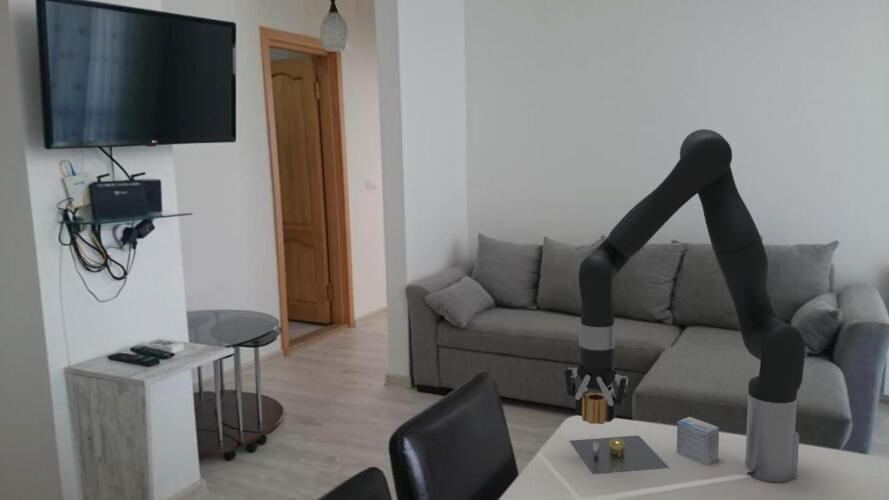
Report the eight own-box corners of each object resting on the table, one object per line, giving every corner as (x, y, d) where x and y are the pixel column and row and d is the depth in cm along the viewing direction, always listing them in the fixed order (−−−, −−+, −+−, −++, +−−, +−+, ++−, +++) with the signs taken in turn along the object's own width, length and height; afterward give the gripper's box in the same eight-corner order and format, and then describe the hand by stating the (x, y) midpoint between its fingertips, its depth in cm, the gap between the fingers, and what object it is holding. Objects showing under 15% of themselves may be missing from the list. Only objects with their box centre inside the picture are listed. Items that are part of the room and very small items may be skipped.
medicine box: (718, 464, 154) (720, 426, 152) (706, 470, 151) (707, 432, 150) (688, 452, 160) (689, 415, 159) (675, 457, 158) (676, 420, 156)
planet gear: (601, 412, 158) (602, 391, 157) (614, 422, 152) (614, 400, 151) (576, 415, 156) (577, 394, 155) (588, 425, 150) (589, 403, 150)
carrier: (638, 440, 167) (638, 421, 166) (669, 472, 150) (669, 452, 150) (569, 445, 165) (569, 426, 164) (592, 479, 148) (592, 458, 148)
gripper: (559, 343, 152) (558, 417, 154) (624, 352, 145) (622, 430, 147) (571, 335, 158) (570, 406, 161) (635, 343, 151) (632, 418, 153)
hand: (595, 417), depth 154 cm, fingers closed on planet gear, 6 cm apart
